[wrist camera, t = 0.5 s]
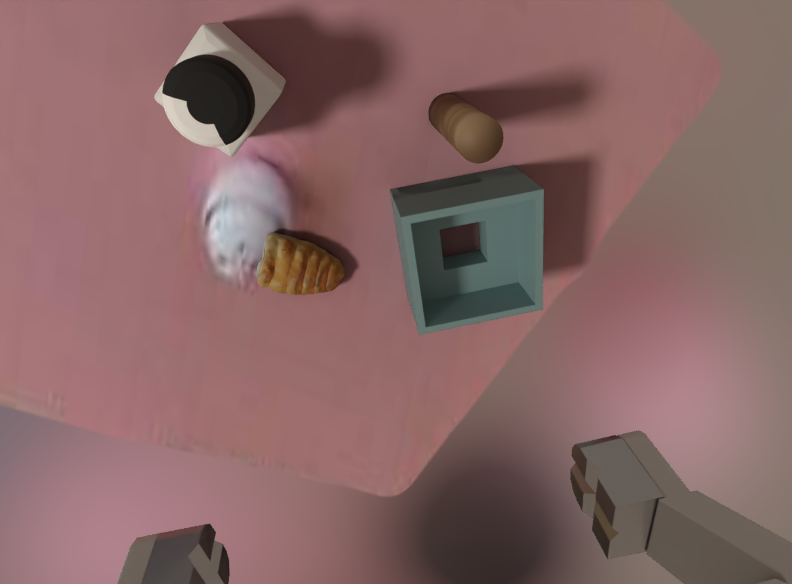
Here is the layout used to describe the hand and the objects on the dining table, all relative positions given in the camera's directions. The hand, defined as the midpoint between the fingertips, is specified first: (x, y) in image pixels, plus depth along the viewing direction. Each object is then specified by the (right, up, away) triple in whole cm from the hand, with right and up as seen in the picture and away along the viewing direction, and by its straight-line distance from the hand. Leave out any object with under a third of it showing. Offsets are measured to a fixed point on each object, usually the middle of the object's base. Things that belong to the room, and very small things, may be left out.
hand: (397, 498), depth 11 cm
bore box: (+7, +11, +44) cm, 46 cm away
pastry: (-11, +8, +43) cm, 46 cm away
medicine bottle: (-15, +24, +33) cm, 44 cm away
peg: (+5, +22, +37) cm, 44 cm away
